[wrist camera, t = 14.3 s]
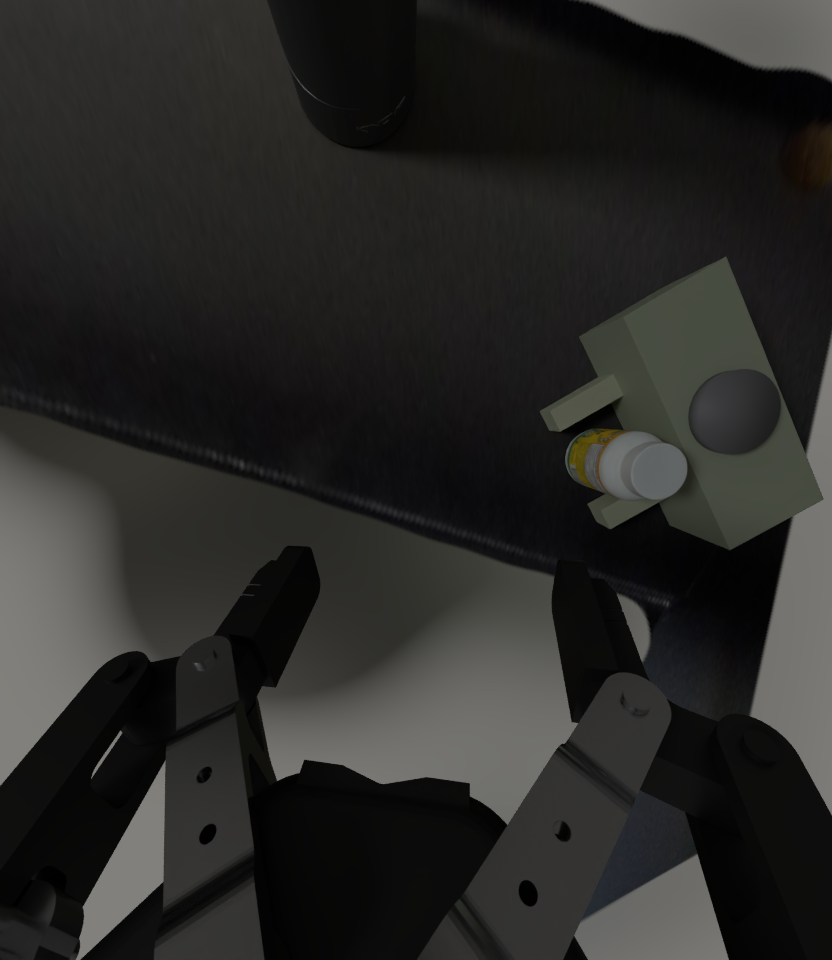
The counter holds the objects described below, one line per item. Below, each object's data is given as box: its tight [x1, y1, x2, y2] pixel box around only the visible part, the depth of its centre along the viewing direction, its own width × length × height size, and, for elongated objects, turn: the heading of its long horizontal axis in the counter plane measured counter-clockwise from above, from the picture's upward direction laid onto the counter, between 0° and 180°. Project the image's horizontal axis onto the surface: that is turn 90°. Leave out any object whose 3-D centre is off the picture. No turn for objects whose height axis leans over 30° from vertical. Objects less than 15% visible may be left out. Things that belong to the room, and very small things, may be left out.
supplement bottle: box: [565, 429, 687, 501], centre depth 32 cm, size 5×5×10 cm
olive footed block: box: [540, 257, 823, 550], centre depth 32 cm, size 20×14×8 cm
